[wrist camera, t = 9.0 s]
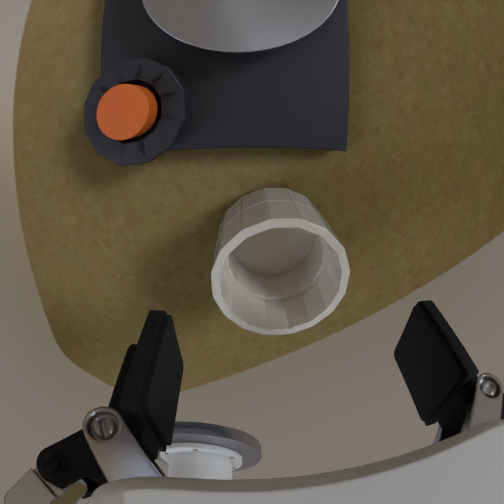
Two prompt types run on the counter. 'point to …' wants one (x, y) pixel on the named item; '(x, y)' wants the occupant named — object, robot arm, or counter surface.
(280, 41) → the brushed metal disc
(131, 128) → the tare button
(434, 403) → the robot arm
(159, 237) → the counter surface
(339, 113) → the scale
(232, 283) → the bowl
